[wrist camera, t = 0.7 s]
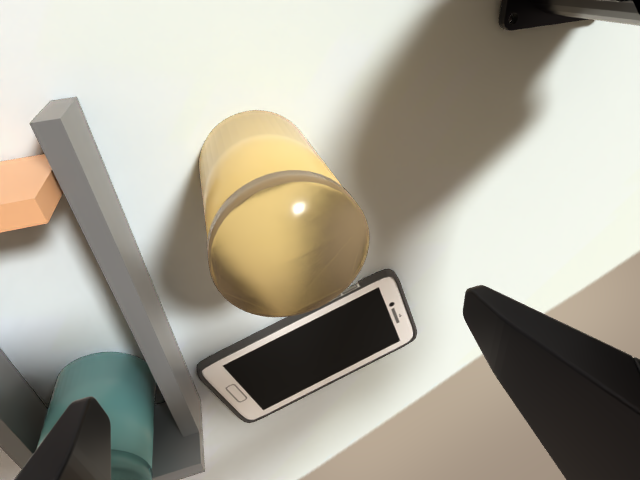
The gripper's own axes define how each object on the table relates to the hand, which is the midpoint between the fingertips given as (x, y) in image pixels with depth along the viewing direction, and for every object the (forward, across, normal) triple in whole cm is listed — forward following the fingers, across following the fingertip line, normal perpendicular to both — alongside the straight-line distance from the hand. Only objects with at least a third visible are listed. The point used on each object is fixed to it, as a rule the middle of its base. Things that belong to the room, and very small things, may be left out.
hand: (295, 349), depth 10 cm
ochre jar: (+13, -1, +1) cm, 13 cm away
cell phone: (+13, -2, +15) cm, 21 cm away
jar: (+13, +11, +13) cm, 21 cm away
